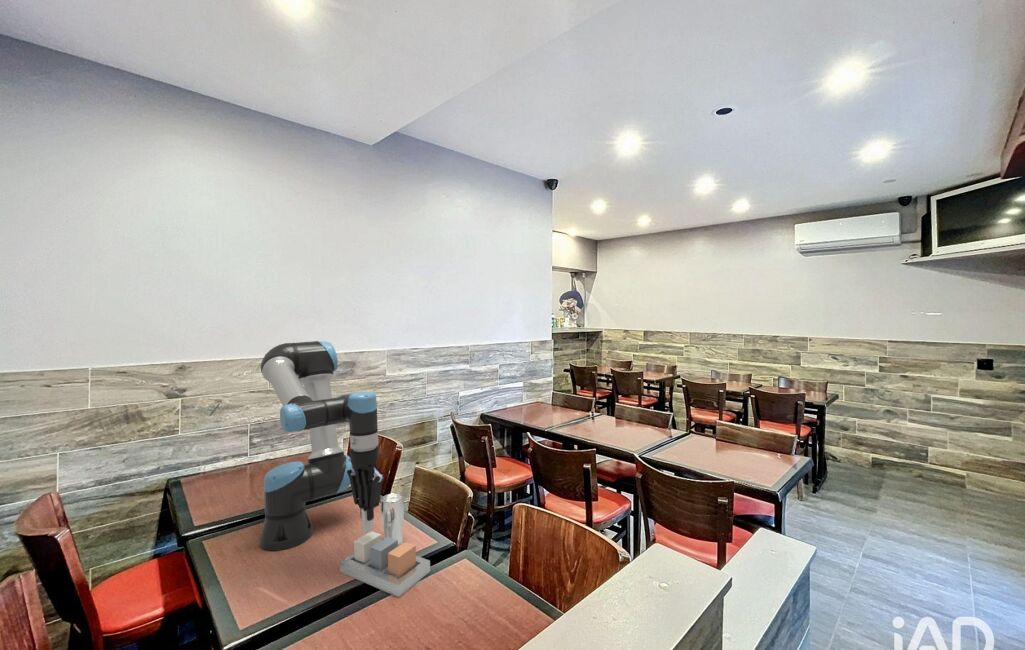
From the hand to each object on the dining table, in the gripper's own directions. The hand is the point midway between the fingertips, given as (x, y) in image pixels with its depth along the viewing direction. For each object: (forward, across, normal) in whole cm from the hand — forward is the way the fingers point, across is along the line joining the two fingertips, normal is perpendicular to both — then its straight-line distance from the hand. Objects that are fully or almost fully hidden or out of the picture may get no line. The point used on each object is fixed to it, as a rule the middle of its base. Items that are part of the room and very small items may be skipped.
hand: (367, 530), depth 120 cm
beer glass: (+11, -3, +13) cm, 17 cm away
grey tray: (+11, +6, 0) cm, 13 cm away
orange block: (+7, +13, 0) cm, 15 cm away
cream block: (+7, 0, 0) cm, 7 cm away
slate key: (+7, +6, 0) cm, 10 cm away
